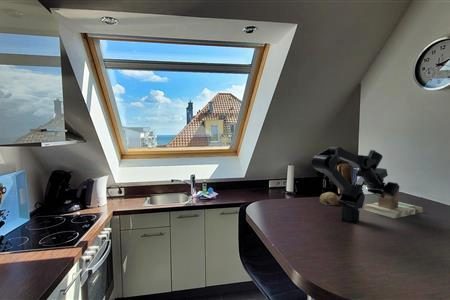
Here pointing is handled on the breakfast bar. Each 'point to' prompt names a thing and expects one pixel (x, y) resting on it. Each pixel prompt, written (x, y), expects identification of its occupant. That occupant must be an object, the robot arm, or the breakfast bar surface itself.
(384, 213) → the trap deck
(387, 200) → the walnut block
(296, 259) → the breakfast bar surface
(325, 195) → the bread roll
